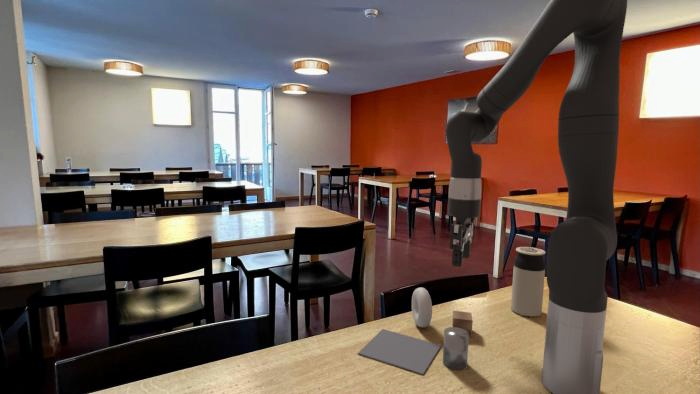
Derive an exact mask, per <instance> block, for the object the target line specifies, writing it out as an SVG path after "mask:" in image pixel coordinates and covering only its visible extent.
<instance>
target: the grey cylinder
mask: <svg viewBox="0 0 700 394" xmlns="http://www.w3.org/2000/svg"><path fill="white" fill-rule="evenodd" d="M443 333H444V334H443V352H442V353H443V354H442V364H443V366H444V367H446V368H447V369H449V370H452V371H458V372H459V371H465V370H466V369H467V368H468V358H469V357H468V356H469V355H468V354H469V339H470V337H469V333H468V332H467V331H466V330H464V329H461V328H457V327H452V326H450V327H446V328H445V329H444V332H443Z"/></svg>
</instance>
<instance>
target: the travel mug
mask: <svg viewBox="0 0 700 394" xmlns="http://www.w3.org/2000/svg"><path fill="white" fill-rule="evenodd" d="M515 251H516V256H515V258H514V259H513V271H512V272H513V273H512V283H511V284H512V286H511V299H510V300H511V301H510V309H511V310H512V311H513V312H514V313H515V314H517V315H519V316H524V317H528V316H529V317H531V318H533V317H534V318H536V317H539V316H541V315H542V313H543V302H544V301H543V300H544V290H545V289H544V288H545V275H546V267H547V262H545V259H544V257H545V254H547V253H546V251H545V250H544V249H540V248H539V247H538V248H536V247H532V246H519V247H516V248H515Z"/></svg>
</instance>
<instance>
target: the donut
mask: <svg viewBox="0 0 700 394" xmlns="http://www.w3.org/2000/svg"><path fill="white" fill-rule="evenodd" d="M432 303H433V302H432V299H431V295H430V294H429V291H428V290H427V289H426V288H425V287H417V288H415V289H414V291H413V292H412V296H411V312H412V317H413V321H414V323H415V324H416V325H417V326H418V327H419V328H427V327H429V325H430V324H431V321H432V316H433V305H432Z"/></svg>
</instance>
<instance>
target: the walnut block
mask: <svg viewBox="0 0 700 394" xmlns="http://www.w3.org/2000/svg"><path fill="white" fill-rule="evenodd" d="M451 322H452V325H451V327H457V328H461V329H464V330H466V331H467V332H468V333H469V339H470V338H471V339H472V338H473V337H472V336H473V334H472V333H473V322H474V320H473V316H472V312H469V311H460V310H459V311H458V310H452V321H451Z"/></svg>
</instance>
